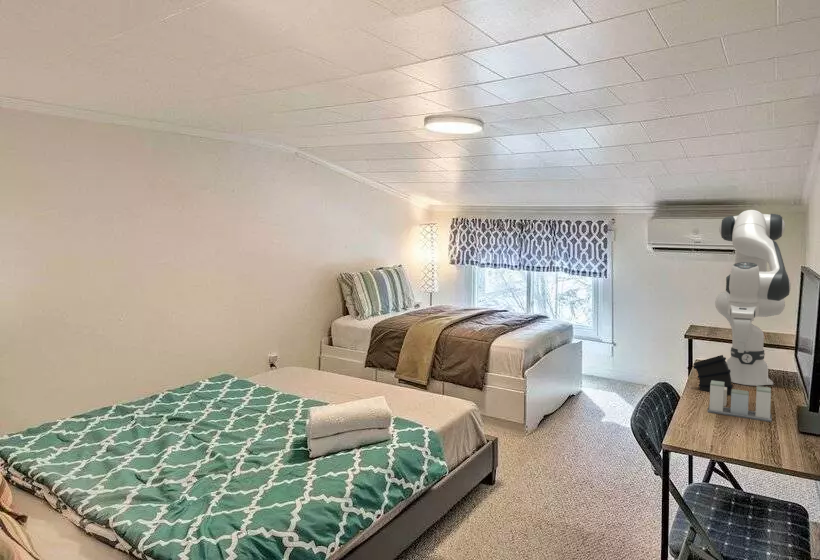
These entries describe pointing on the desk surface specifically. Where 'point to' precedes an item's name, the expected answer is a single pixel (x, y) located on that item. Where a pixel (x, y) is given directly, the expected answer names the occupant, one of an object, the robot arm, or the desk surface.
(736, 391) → the block
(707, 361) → the black ridged block
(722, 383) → the block
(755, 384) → the robot arm
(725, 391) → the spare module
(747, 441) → the desk surface
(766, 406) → the block
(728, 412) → the rail plate
